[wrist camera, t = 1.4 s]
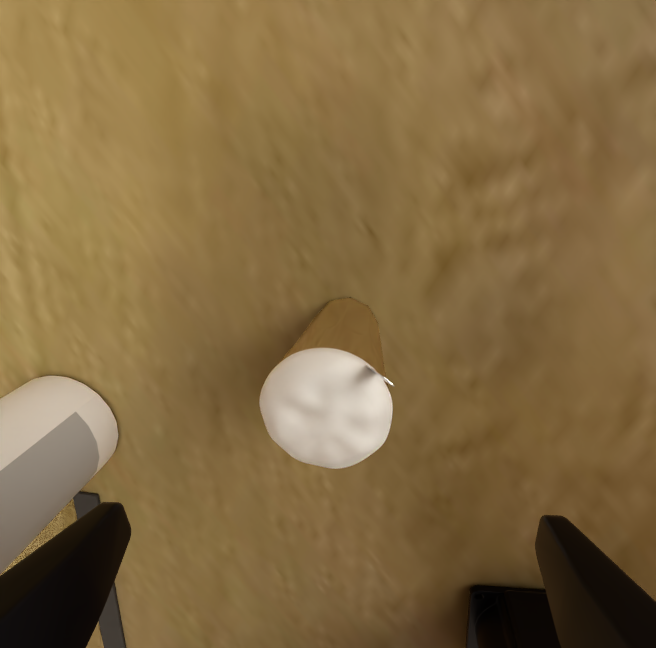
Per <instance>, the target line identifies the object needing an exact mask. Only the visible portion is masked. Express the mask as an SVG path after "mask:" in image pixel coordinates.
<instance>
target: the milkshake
mask: <svg viewBox="0 0 656 648" xmlns="http://www.w3.org/2000/svg"><path fill="white" fill-rule="evenodd" d="M388 383H389V384H390V385H391V386H393V387H394V385H393V384H392V383H391V382H390V381H389V380H388V379H387V377H386V372H385V367H384V361H383V353H382V346H381V339H380V333H379V326H378V322H377V320H376V319H375V317H374V315H373V313H372V311H371V310H370V308H369V306H368V305H366V304H363V303H361V302H359V301H357V300H355V299H353V298H351V297H349V298H343V299H337V300H331V301H330V302H329V303H328V304H327V305H326V306H325V307H324V308H323V309H322V310H321V311H320V312H319V313H318V314H317V315H316V316H315V318H314V319H313V320H312V322H311V323H310V325H309V326H308V327H307V329H306V330H305V331H304V333H303V334H302V335H301V337H300V338H299V340H298V341H297V342H296V343H295V344H294V345H293V347H292V348H291V349H290V350H289V351H288V352H287V354H286V355H285V356H284V357H283V358H282V359H281V361H280V362H279V363H278V364H277V365H276V367H275V368H274V369H273V370H272V371H271V372H270V374H269V375H268V377H267V379H266V380H265V383H264V385H263V387H262V390H261V394H260V410H261V414H262V417H263V420H264V423H265V426H266V428H267V431H268V433H269V435H270V436H271V438H272V439H273V440H274V441H275V442H276V443H277V444H278V445H279V446H280V447H281V448H282V449H284V450H285V451H286V452H287V453H288V454H290V455H291V456H292V457H294V458H295V459H297V460H299V461H301V462H304V463H308V464H312V465H317V466H322V467H326V468H333V469H339V468H345V467H349V466H352V465H354V464H357V463H359V462H361V461H362V460H364V459H365V458H367V457H368V456H370V455H371V454H373V453H374V452H375V451H377V450H378V449H379V448H380V447H381V446H382V445H383V443H384V442H385V440H386V438H387V436H388V433H389V430H390V426H391V421H392V413H393V406H392V399H391V395H390V391H389V387H388Z"/></svg>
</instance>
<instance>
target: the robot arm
mask: <svg viewBox="0 0 656 648" xmlns="http://www.w3.org/2000/svg"><path fill="white" fill-rule="evenodd" d="M130 536H131V526H130V523H129V521H128V518H127V515H126V512H125V510H124V507H123V505H122V504H121V503H118V502H103V503H101V504H99V505H97V506H96V507H95V508H93V509H92V510H91V511H89V512H88V513H86V514H85V515H84V516H82V517H81V518H79V519H78V520H77V521H75V522H74V523H73V524H71V525H70V526H68V527H67V528H66V529H64V530H63V531H62V532H60V533H59V534H57V535H56V536H55V537H53V538H52V539H51V540H49V541H48V542H46V543H45V544H44V545H42V546H41V547H40V548H38V549H37V550H35V551H34V552H33V553H31V554H30V555H29V556H27V557H26V558H24V559H23V560H22V561H20V562H19V563H18V564H16V565H15V566H13V567H12V568H11V569H9V570H8V571H7V572H5V573H4V574H2V575H1V576H0V648H86V646H87V644H88V642H89V640H90V638H91V635H92V633H93V631H94V629H95V627H96V625H97V623H98V621H99V618H100V616H101V614H102V612H103V609H104V607H105V604H106V602H107V599H108V597H109V594H110V591H111V589H112V586H113V583H114V581H115V578H116V575H117V573H118V570H119V567H120V564H121V562H122V559H123V556H124V554H125V551H126V548H127V546H128V543H129V540H130ZM535 549H536V555H537V559H538V563H539V567H540V571H541V575H542V579H543V583H544V586H545V590H536V589H522V588H509V587H495V586H482V585H475V586H473V587H471V589H470V595H469V609H468V623H467V637H466V648H656V602H655V601H654V600H653V599H652V598H651V597H650V596H649V595H648V594H647V593H646V592H645V591H644V590H643V589H642V588H641V587H639V586H638V585H637V584H636V583H635V582H634V581H633V580H632V579H631V578H630V577H629V576H628V575H627V574H626V573H625V572H623V571H622V570H621V569H620V568H619V567H618V566H617V565H616V564H615V563H614V562H613V561H612V560H611V559H610V558H608V557H607V556H606V555H605V554H604V553H603V552H602V551H601V550H600V549H599V548H598V547H597V546H596V545H595V544H594V543H592V542H591V541H590V540H589V539H588V538H587V537H586V536H585V535H584V534H583V533H582V532H581V531H580V530H579V529H578V528H576V527H575V526H574V525H573V524H572V523H571V522H570V521H569V520H568V519H567V518H565V517H563V516H558V515H544V516H542V517H541V519H540V522H539V527H538V532H537V537H536V542H535Z"/></svg>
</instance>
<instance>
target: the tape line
mask: <svg viewBox="0 0 656 648" xmlns="http://www.w3.org/2000/svg"><path fill="white" fill-rule="evenodd" d="M73 500H74V504H75V509H76V514H77V519H79V518H81V517H82V516H84V515H85V514H86V513H88V512H89V511H91V510H92V509H93V508H95V507H96V506H97V505H99V504H100V500H99V495H98V494H93V493H86V492H80V491H79V492H78V493H77V494H76V495H75V496H74V497H73ZM99 625H100V630H101V635H102V640H103V644H104V648H126V645H125V640H124V634H123V628H122V623H121V617H120V612H119V606H118V601H117V595H116V589H115V584H114V583H113V586H112V589H111V591H110V594H109V597H108V599H107V602H106V604H105V607H104V609H103V612H102V614H101V616H100V618H99Z"/></svg>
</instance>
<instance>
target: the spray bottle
mask: <svg viewBox="0 0 656 648" xmlns="http://www.w3.org/2000/svg"><path fill="white" fill-rule="evenodd" d="M118 436H119V435H118V429H117V422H116V420H115V418H114V416H113V413H112V411H111V409H110V407H109V406H108V405H107V404H106V403H105V401H104V400H103V399H102V398H101V397H100V396H99V395H98V394H97V393H96V392H95V391H93V390H92V389H90V388H89V387H88V386H86V385H85V384H83V383H81V382H78V381H76V380H73V379H71V378H68V377H61V376H53V375H51V376H44V377H40V378H35V379H32V380H30V381H29V382H27V383H25V384H24V385H22V386H20V387H19V388H17V389H15V390H14V391H12V392H10V393H9V394H7V395H5V396H4V397H2V398H0V574H1V573H2V572H3V571H4V570H5V569H6V568H7V567H8V566H9V565H10V564H11V563H12V562H13V561H14V560H15V559H16V557H17V556H18V555H19V554H20V553H21V552H22V551H23V550H24V549H25V548H26V547H27V546H28V545H29V544H30V543H31V542H32V541H33V540H34V539H35V537H36V536H37V535H38V534H39V533H40V532H41V531H42V530H43V529H44V528H45V527H46V526H47V525H48V524H49V523H50V522H51V521H52V520H53V518H54V517H55V516H56V515H57V514H58V513H59V512H60V511H61V510H62V509H63V508H64V507H65V506H66V505H67V504H68V503H69V502H70V501H71V499H72V498H73V497H74V496H75V495H76V494H77V493H78V492H79V491H80V490H81V489H82V488H83V487H84V486H85V485H86V484H87V483H88V482H89V480H90V479H91V478H92V477H93V476H94V475H95V474H96V473H97V472H98V471H99V470H100V469H101V468H102V467H103V466H104V465H105V464H106V463H107V461H108V460H109V459H110V457H111V456H112V455H113V453H114V452H115V449H116V445H117V440H118Z"/></svg>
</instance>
